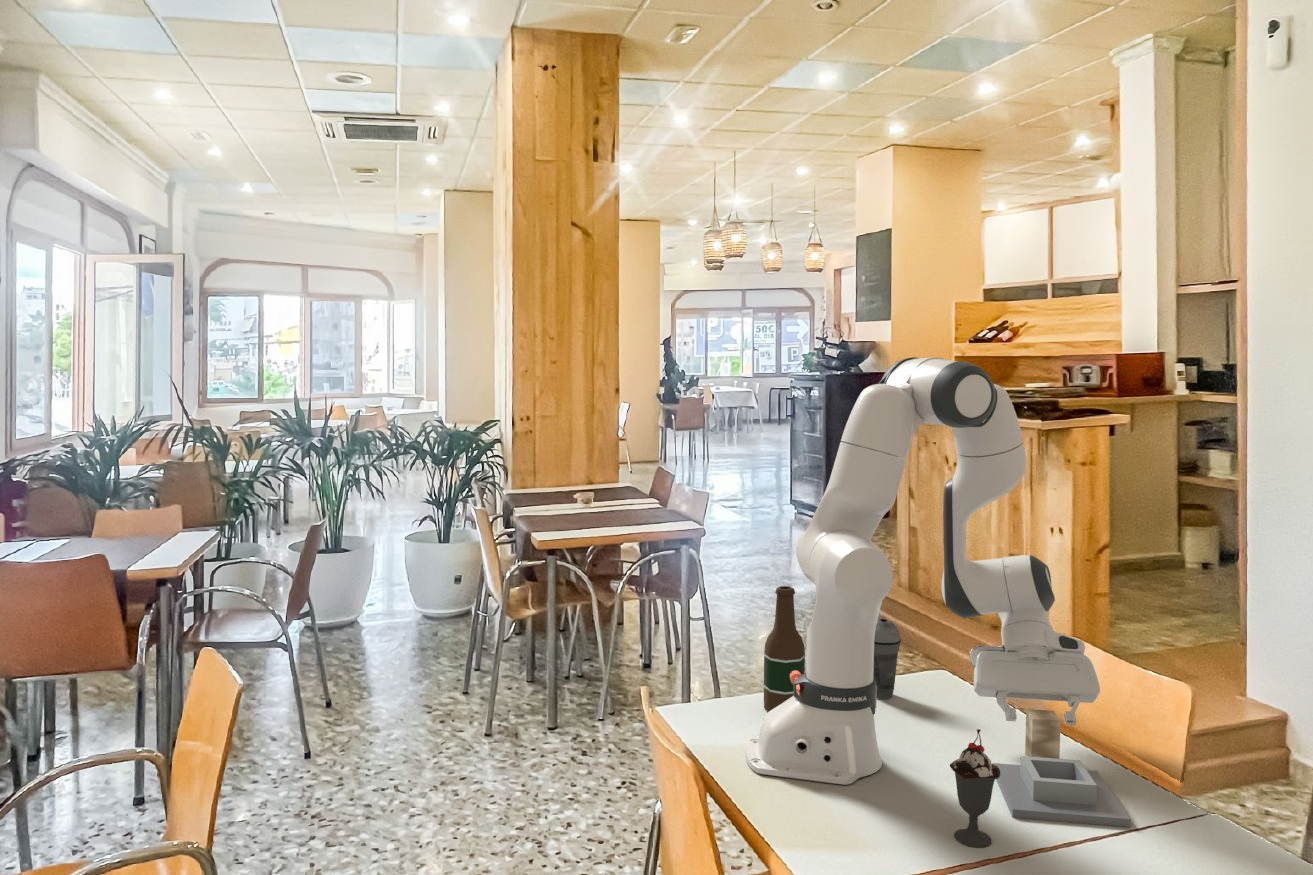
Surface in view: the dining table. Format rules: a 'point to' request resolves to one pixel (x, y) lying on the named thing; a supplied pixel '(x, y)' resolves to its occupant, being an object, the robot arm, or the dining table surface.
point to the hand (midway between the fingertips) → (1040, 721)
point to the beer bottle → (782, 651)
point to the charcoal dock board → (1059, 792)
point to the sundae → (974, 791)
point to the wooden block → (1042, 734)
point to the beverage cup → (885, 657)
